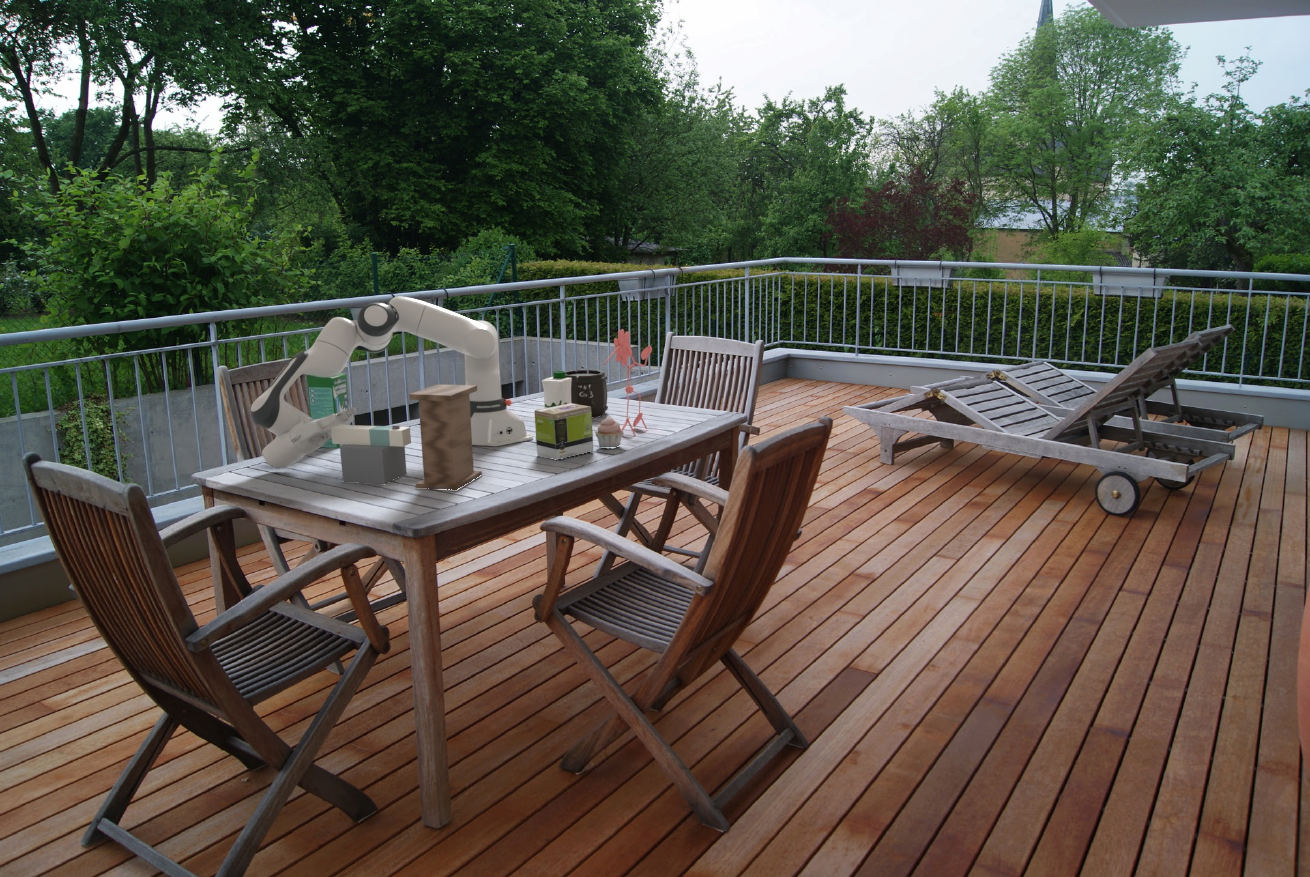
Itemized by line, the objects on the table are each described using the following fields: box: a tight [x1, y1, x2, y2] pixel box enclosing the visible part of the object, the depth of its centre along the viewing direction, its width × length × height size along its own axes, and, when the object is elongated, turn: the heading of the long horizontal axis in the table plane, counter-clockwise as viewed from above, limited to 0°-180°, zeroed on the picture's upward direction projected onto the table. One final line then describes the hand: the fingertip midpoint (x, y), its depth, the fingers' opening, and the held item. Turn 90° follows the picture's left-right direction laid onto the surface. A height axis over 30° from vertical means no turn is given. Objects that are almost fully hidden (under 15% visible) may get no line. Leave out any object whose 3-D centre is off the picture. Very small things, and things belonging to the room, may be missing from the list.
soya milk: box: [541, 370, 572, 409], centre depth 325 cm, size 9×9×20 cm
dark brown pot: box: [564, 369, 609, 418], centre depth 353 cm, size 18×18×16 cm
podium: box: [339, 444, 407, 485], centre depth 267 cm, size 13×12×10 cm
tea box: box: [534, 403, 595, 461], centre depth 291 cm, size 15×10×15 cm
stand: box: [408, 383, 483, 490], centre depth 259 cm, size 12×16×26 cm
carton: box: [331, 424, 412, 447], centre depth 265 cm, size 22×5×5 cm, turn 76°
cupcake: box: [594, 415, 625, 448], centre depth 300 cm, size 9×9×10 cm
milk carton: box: [305, 372, 352, 449], centre depth 308 cm, size 9×9×25 cm
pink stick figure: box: [603, 328, 656, 435], centre depth 320 cm, size 15×26×35 cm, turn 154°
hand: (345, 412), depth 266 cm, fingers open, 8 cm apart
